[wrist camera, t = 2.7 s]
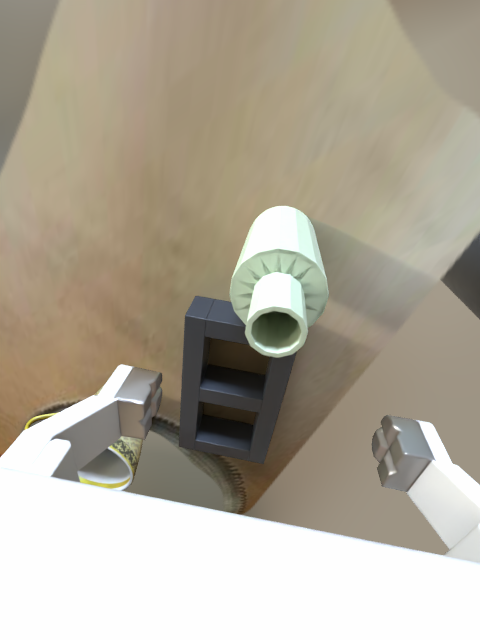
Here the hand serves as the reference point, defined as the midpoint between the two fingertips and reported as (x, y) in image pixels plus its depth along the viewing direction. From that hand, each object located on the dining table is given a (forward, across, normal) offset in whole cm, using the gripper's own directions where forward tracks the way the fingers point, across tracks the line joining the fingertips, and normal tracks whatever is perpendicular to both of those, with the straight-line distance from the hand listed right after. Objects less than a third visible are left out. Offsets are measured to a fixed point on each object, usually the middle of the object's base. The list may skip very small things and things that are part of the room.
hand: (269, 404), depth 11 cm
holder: (+20, +2, +17) cm, 26 cm away
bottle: (+20, 0, 0) cm, 20 cm away
